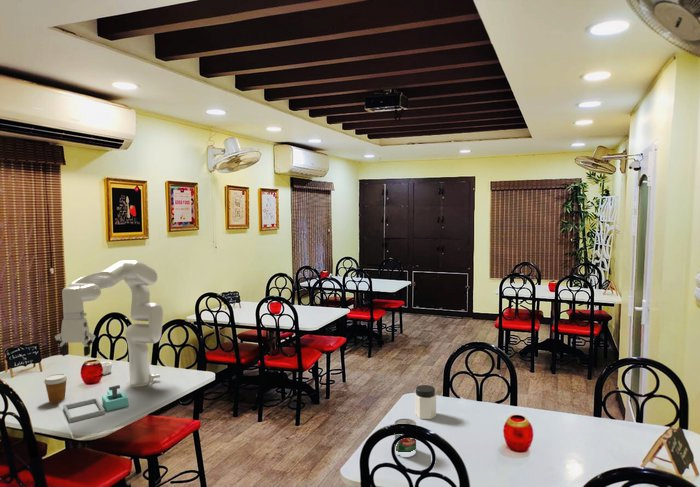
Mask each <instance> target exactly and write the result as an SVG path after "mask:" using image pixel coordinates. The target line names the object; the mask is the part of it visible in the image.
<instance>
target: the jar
mask: <svg viewBox="0 0 700 487" xmlns="http://www.w3.org/2000/svg"><path fill="white" fill-rule="evenodd" d="M414 416H417V418H419V419H420V420H432V419H434V418H435V417H436V416H437V395H436V388H435V387H434V386H432V385H429V384H421V385H417V386H416V387H415V393H414Z"/></svg>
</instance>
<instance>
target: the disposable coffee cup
mask: <svg viewBox="0 0 700 487" xmlns="http://www.w3.org/2000/svg"><path fill="white" fill-rule="evenodd" d="M67 380H68V376H67V374H65V373H56V374H50V375H48V376H46V377H45V378H44V381H43V383H44V384H45V388H46V393H47V398H48V402H49V404H50V405H58V404H60V403H59V402H60V401H62V400H63V401H64V400H65V399H66V391H67V390H66V389H67V387H66V386H67Z"/></svg>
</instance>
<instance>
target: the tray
mask: <svg viewBox="0 0 700 487" xmlns="http://www.w3.org/2000/svg"><path fill="white" fill-rule="evenodd" d="M91 404H96V406H97V407H98V409H99V410H97V411H92V412H87V413H84V414H80V415H74V416H71V413H70V411H69V409H74V408H78V407H83V406H87V405H91ZM103 407H104V406H103V404H102V402H100V400H99V399H98V397H94V398H90V399H85V400H82V401H81V400H80V401H77V402H76V401H75V402H73V403H68V404H64V405H63V410H64V413H65V415H66V417H67V420H68V422H69V423H70V424H71V423H73V422H79V421H83V420H86V419H91V418H95V417H99V416H103V415H106V410H105V409H104V408H103Z"/></svg>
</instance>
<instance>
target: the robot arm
mask: <svg viewBox="0 0 700 487" xmlns="http://www.w3.org/2000/svg"><path fill="white" fill-rule="evenodd" d="M157 280H158V273H157V271H156V270H155V268H152V267H151V266H149V265H148V264H146V263H144V262H142V261H140V260H132V259H131V260H130V259H129V260H123V259H121V260H119V261H116V262H115V263H113V264H111V265H109V266H108V267H107V268H104V269H103V270H101V271H98V272H97V271H96V272H94V273H91V274H88V275H84V276H82V277H79V278H78V279H75V280H73V281H72V282H71V283H69V285H67V286H66V287H63V289H62V291H61V293H62V294H61V297H62V311H63V314H62V315H63V319H62V320H61V321H62V322H61V329H60V330H61V332H60V333H58V334H56V335H54V338H55V340H56V343H57V344H58V345H59V347H60V348H61V356H62V357H65V356H66V355H68V354H69V345H68V343H71V344H72V343H78V344H79V343H82V344H83V345H84V346H83V355H84V357H87V356H89V355H90V354H91V345H92V344H93V342H94V341H95V338H96V335H95V334H93V333H91V332H90V329H89V323H88V320H87V318H86V316H87V313H86V312H85V311H84V302H91V301H95V300H97V299H99V297H100V296H101V294H102V290H103V289H109V288H112V287H114V286H115V285H117V284H118V283H120V282H121V281H124V282H125V283H126V285H127V286H128V287H129V289H130V291H131V304H130V318H131V319H132V320H133V321H137V322H148V323H133V324H130V325H129V326H127V327H126V329H125V339H126V343H127V348H128V363H129V364H128V365H129V381H128V382H127V383H126V385H127V386H128V387H133V388H136V387H143V386H144V387H145V386H148V385H150V386H152V385H153V384H154V383H155V382H154V379H159V378H161V375H160V373H151V369H150V366H151V365H150V349H149V346H148V344H157V343H158V342H160V340H161V337H162V332H163V331H162V330H163V319H164V310H163V307H162V305H161V304H159V303H157V302H150V299H151V295H150V294H151V293H150V289H149V287H148V286H153V285H155V283H157Z"/></svg>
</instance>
